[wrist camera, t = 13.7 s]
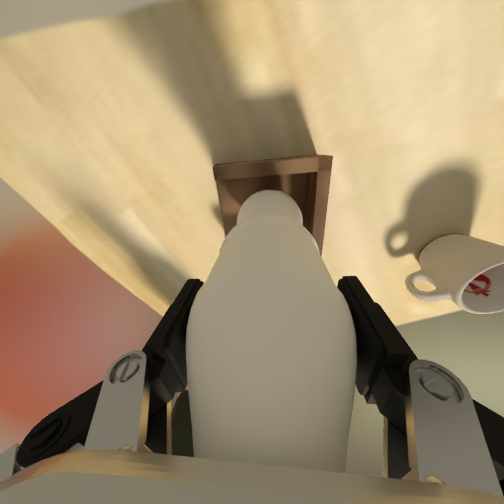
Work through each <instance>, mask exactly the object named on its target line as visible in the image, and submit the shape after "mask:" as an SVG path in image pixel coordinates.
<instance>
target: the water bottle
mask: <svg viewBox="0 0 504 504" xmlns="http://www.w3.org/2000/svg"><path fill="white" fill-rule="evenodd" d="M302 224H303V218H302V213H301V211H300V209H299V207H298V205H297V204H296V202H295V201H294V200H293V199H292V198H291V197H290V196H289V195H287V194H286V193H284V192H282V191H276V190H262V191H259V192H256V193H255V194H253V195H251V196H250V197H249V198H248V199H247V200H246V201H245V202H244V203H243V205H242V206H241V208H240V210H239V213H238V217H237V225H236V226H235V227H234V228H233V229H232V230H231V231H230V232H229V234H228V235H227V236H226V238H225V240H224V242H223V243H222V246H221V248H220V253H219V256H218V258H217V260H216V262H215V264H214V266H213V268H212V270H211V272H210V274H209V276H208V279H207V281H206V282H205V283H204V284H203V286H202V287H201V288H200V290H199V291H198V292H197V295H196V297H195V300H194V302H193V305H192V307H191V311H190V315H189V319H188V324H187V329H186V366H187V383H188V393H189V403H190V413H191V422H192V436H193V452H194V457H196V458H206V459H216V460H226V461H236V462H245V463H255V464H264V465H274V466H283V467H293V468H303V469H312V470H321V471H330V472H339V473H345V465H346V455H347V445H348V437H349V430H350V423H351V416H352V409H353V401H354V392H355V381H356V369H357V341H356V332H355V327H354V322H353V319H352V316H351V313H350V310H349V307H348V304H347V302H346V300H345V298H344V296H343V294H342V293H341V292H340V290H339V289H338V288H337V287H336V286H335V284H334V282H333V280H332V278H331V276H330V274H329V272H328V270H327V268H326V266H325V264H324V261H323V259H322V257H321V255H320V253H319V249H318V246H317V243H316V241H315V239H314V238H313V236H312V235H311V234H310V232H309V231H308V230H307V229H306V228H305V227H304V226H302Z"/></svg>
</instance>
